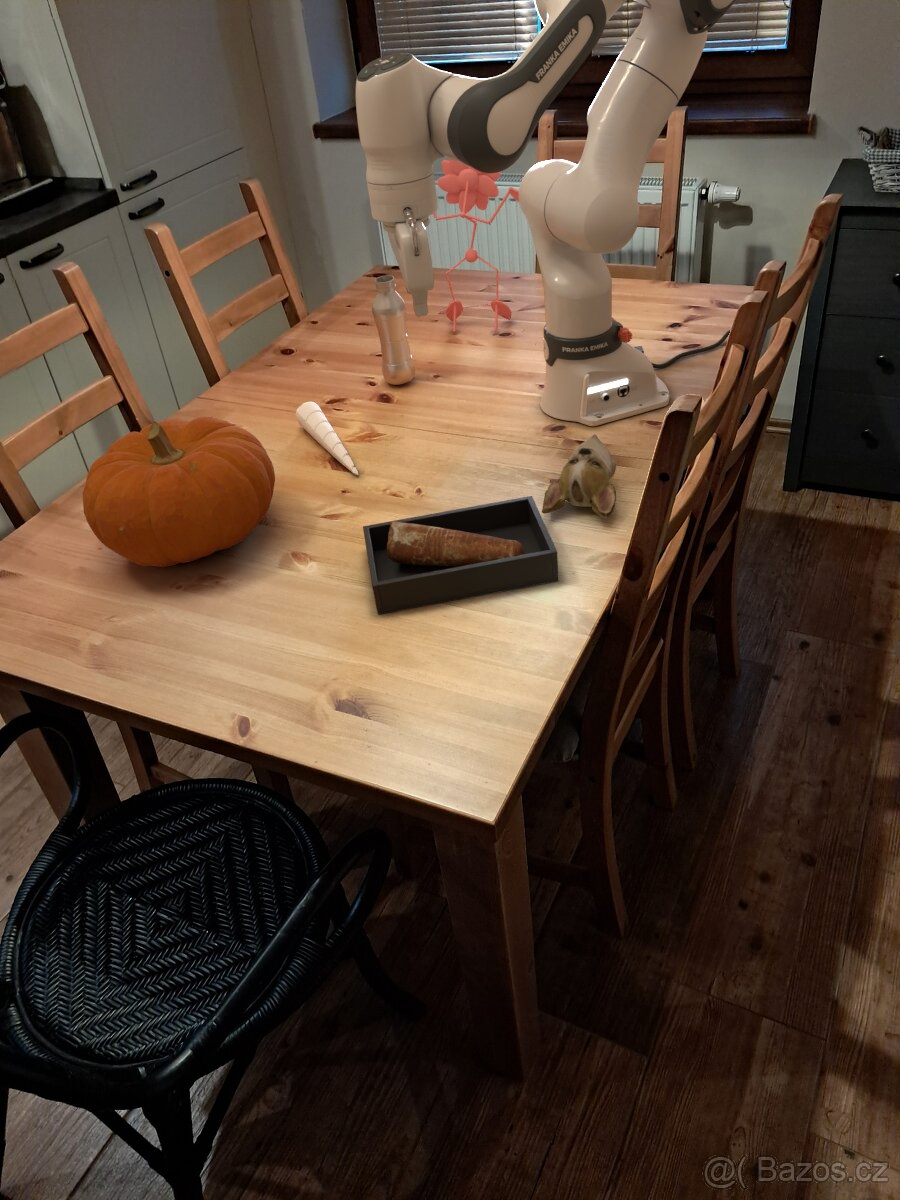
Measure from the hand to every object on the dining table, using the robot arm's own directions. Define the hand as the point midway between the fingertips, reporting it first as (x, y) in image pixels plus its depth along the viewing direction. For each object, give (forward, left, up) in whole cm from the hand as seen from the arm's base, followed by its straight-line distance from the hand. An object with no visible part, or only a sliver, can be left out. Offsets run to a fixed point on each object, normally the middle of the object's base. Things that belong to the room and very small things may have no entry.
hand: (417, 302), depth 128 cm
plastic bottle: (+2, -40, -29) cm, 50 cm away
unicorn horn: (+17, -18, -29) cm, 38 cm away
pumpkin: (+39, +4, -29) cm, 49 cm away
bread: (+1, +23, -28) cm, 37 cm away
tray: (+1, +24, -29) cm, 38 cm away
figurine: (-19, -64, -29) cm, 73 cm away
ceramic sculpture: (-20, +13, -29) cm, 38 cm away
